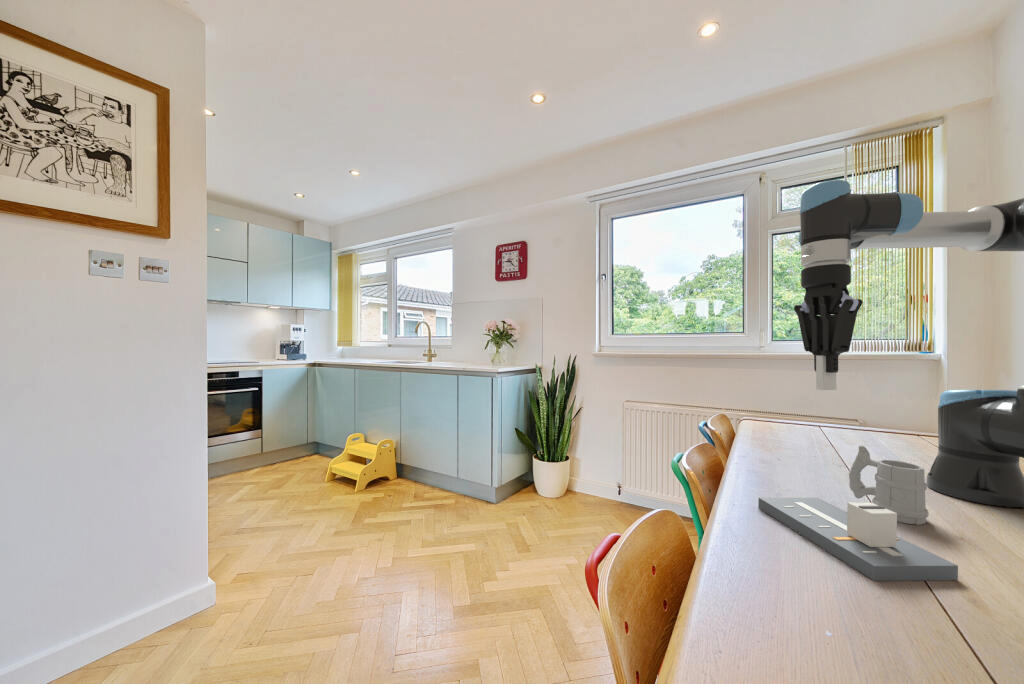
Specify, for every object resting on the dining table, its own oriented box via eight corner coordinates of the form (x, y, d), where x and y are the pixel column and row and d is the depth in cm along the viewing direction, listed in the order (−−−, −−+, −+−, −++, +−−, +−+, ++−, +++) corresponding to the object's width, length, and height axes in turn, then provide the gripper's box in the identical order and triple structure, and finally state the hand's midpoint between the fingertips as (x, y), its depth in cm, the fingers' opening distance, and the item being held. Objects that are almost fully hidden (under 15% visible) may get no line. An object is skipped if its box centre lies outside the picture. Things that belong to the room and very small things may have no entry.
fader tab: (871, 534, 64) (871, 501, 64) (896, 546, 60) (897, 512, 60) (846, 534, 64) (847, 501, 63) (870, 547, 60) (871, 512, 60)
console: (817, 507, 79) (817, 497, 79) (957, 580, 55) (958, 564, 55) (758, 507, 79) (758, 496, 79) (874, 580, 55) (874, 565, 55)
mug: (918, 529, 71) (920, 461, 71) (839, 504, 81) (840, 445, 81) (935, 520, 74) (937, 456, 74) (857, 498, 85) (858, 441, 85)
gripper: (781, 272, 83) (782, 386, 83) (836, 258, 70) (837, 394, 70) (815, 272, 83) (816, 385, 83) (876, 259, 70) (878, 393, 70)
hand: (826, 389), depth 77 cm, fingers closed
